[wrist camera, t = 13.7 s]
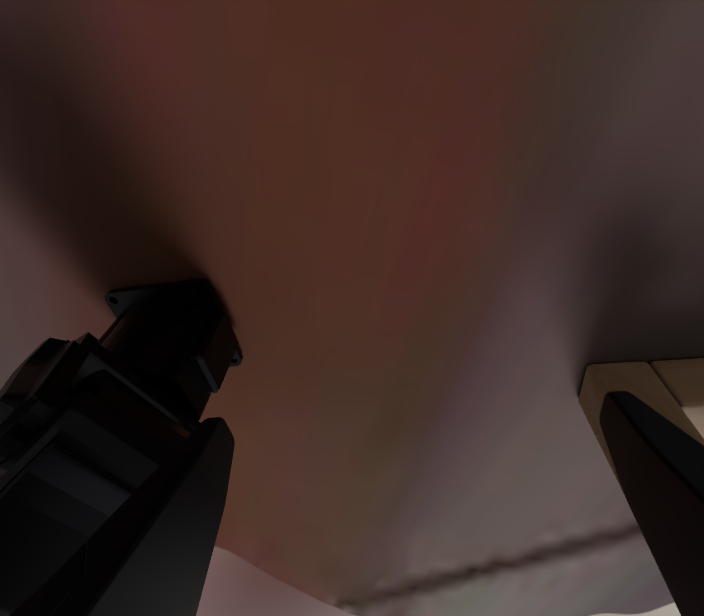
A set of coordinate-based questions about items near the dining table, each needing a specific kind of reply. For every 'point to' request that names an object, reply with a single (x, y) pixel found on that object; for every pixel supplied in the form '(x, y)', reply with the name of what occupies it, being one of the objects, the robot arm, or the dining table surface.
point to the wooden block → (648, 392)
